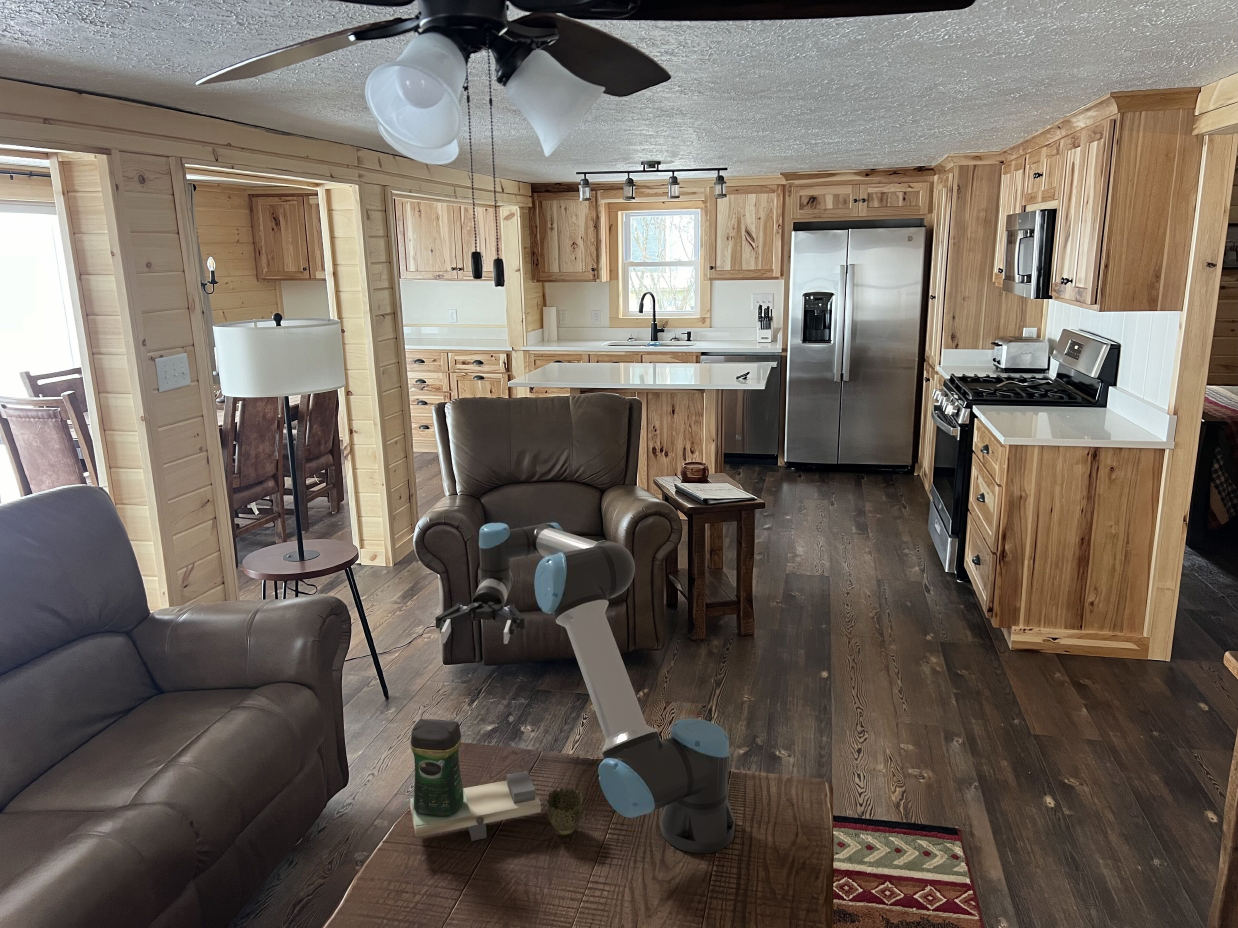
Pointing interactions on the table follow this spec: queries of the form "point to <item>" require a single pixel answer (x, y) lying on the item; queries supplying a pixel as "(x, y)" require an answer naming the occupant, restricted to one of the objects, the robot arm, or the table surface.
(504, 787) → the beam
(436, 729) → the coffee jar
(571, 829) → the cup
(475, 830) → the beam stand
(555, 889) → the table surface
